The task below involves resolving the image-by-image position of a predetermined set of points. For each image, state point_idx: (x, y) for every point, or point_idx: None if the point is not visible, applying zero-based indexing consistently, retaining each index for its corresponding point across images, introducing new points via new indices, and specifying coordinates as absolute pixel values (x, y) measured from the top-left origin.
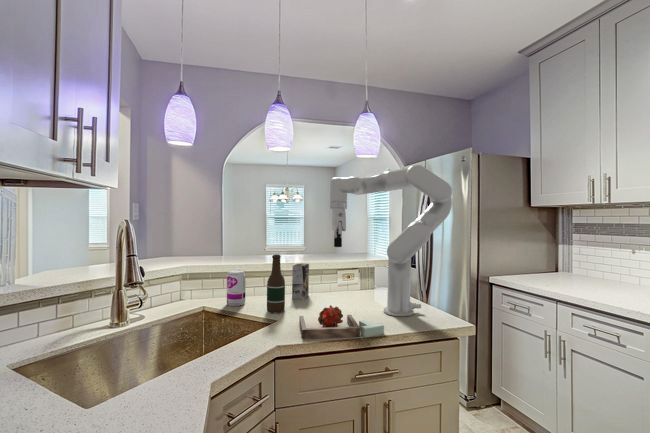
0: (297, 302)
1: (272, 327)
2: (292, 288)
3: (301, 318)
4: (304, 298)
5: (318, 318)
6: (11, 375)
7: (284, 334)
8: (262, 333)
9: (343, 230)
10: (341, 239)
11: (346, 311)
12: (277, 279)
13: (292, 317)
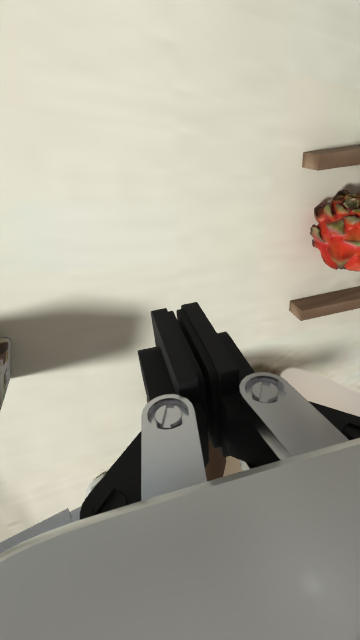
0: (62, 351)
1: (302, 361)
2: (1, 405)
3: (323, 312)
4: (2, 338)
5: (345, 268)
6: None
7: (350, 329)
8: (333, 369)
9: (302, 470)
10: (230, 358)
11: (172, 157)
12: (225, 460)
13: (234, 335)
